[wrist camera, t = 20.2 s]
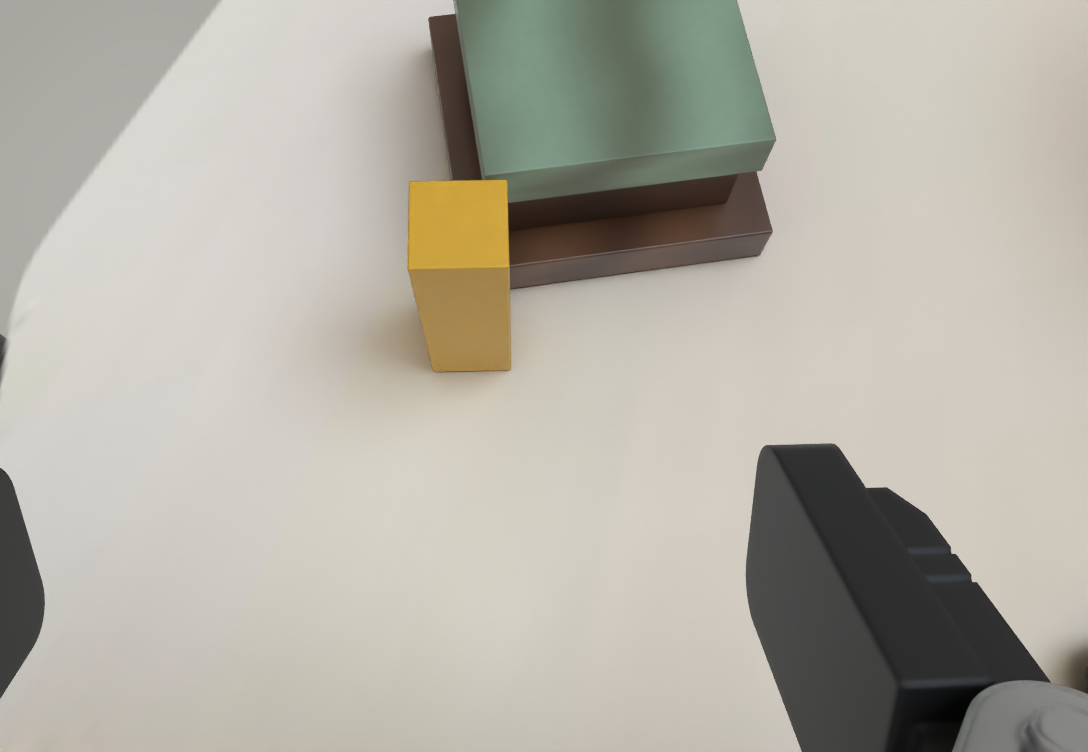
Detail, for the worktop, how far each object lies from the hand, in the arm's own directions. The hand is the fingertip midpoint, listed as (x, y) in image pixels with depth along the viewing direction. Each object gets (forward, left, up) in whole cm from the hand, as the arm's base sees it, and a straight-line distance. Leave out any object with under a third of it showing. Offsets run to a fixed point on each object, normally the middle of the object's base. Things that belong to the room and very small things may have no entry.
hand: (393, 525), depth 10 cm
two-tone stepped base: (+2, +21, -24) cm, 31 cm away
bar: (-2, +12, -24) cm, 26 cm away
